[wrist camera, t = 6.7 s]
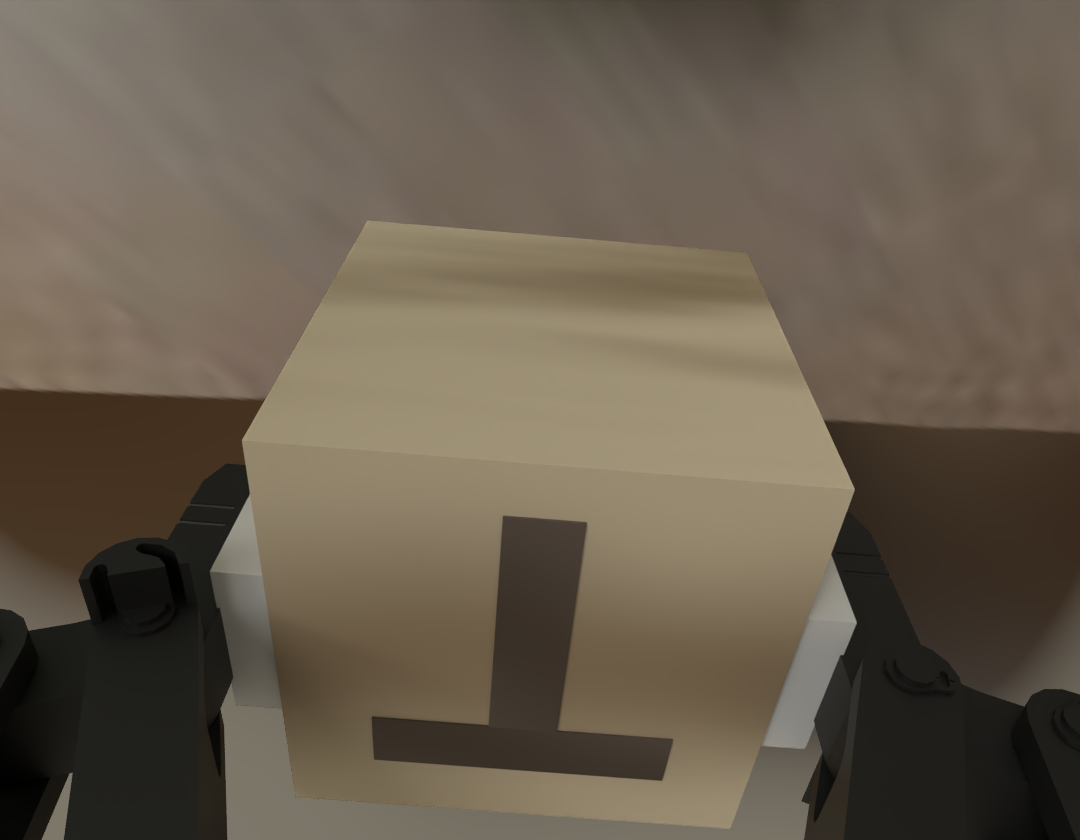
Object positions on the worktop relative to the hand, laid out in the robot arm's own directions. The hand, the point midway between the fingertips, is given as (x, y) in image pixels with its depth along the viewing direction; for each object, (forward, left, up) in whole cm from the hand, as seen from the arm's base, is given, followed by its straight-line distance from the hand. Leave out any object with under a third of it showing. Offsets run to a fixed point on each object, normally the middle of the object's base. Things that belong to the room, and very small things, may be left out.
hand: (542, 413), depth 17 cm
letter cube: (0, 0, 0) cm, 0 cm away
